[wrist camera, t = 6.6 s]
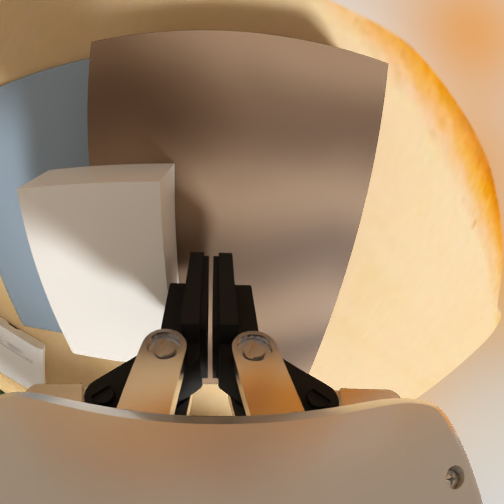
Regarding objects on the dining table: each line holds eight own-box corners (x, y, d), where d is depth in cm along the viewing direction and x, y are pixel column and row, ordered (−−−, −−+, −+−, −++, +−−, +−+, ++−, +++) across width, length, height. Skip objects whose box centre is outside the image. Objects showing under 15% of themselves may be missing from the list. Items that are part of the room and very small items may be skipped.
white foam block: (183, 331, 15) (178, 367, 13) (86, 322, 14) (73, 353, 12) (174, 163, 10) (160, 181, 8) (49, 170, 9) (16, 189, 7)
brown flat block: (294, 340, 22) (305, 379, 19) (147, 339, 20) (139, 379, 17) (349, 68, 12) (388, 63, 9) (123, 53, 10) (91, 41, 7)
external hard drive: (-1, 359, 23) (-12, 302, 18) (47, 388, 26) (47, 340, 21) (-5, 368, 21) (-20, 312, 17) (44, 397, 24) (41, 352, 19)
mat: (147, 339, 20) (146, 342, 20) (24, 323, 19) (23, 325, 19) (123, 53, 10) (121, 52, 10) (-29, 101, 9) (-32, 101, 8)
